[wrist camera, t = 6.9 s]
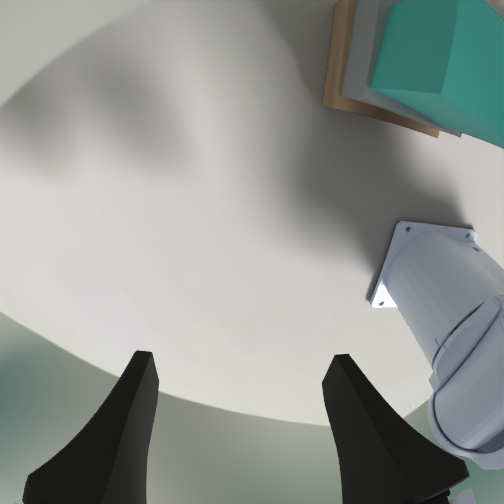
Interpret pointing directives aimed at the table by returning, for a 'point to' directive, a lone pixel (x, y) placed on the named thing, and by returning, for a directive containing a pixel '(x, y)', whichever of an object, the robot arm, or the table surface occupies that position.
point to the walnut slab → (336, 71)
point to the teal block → (446, 64)
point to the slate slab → (374, 62)
